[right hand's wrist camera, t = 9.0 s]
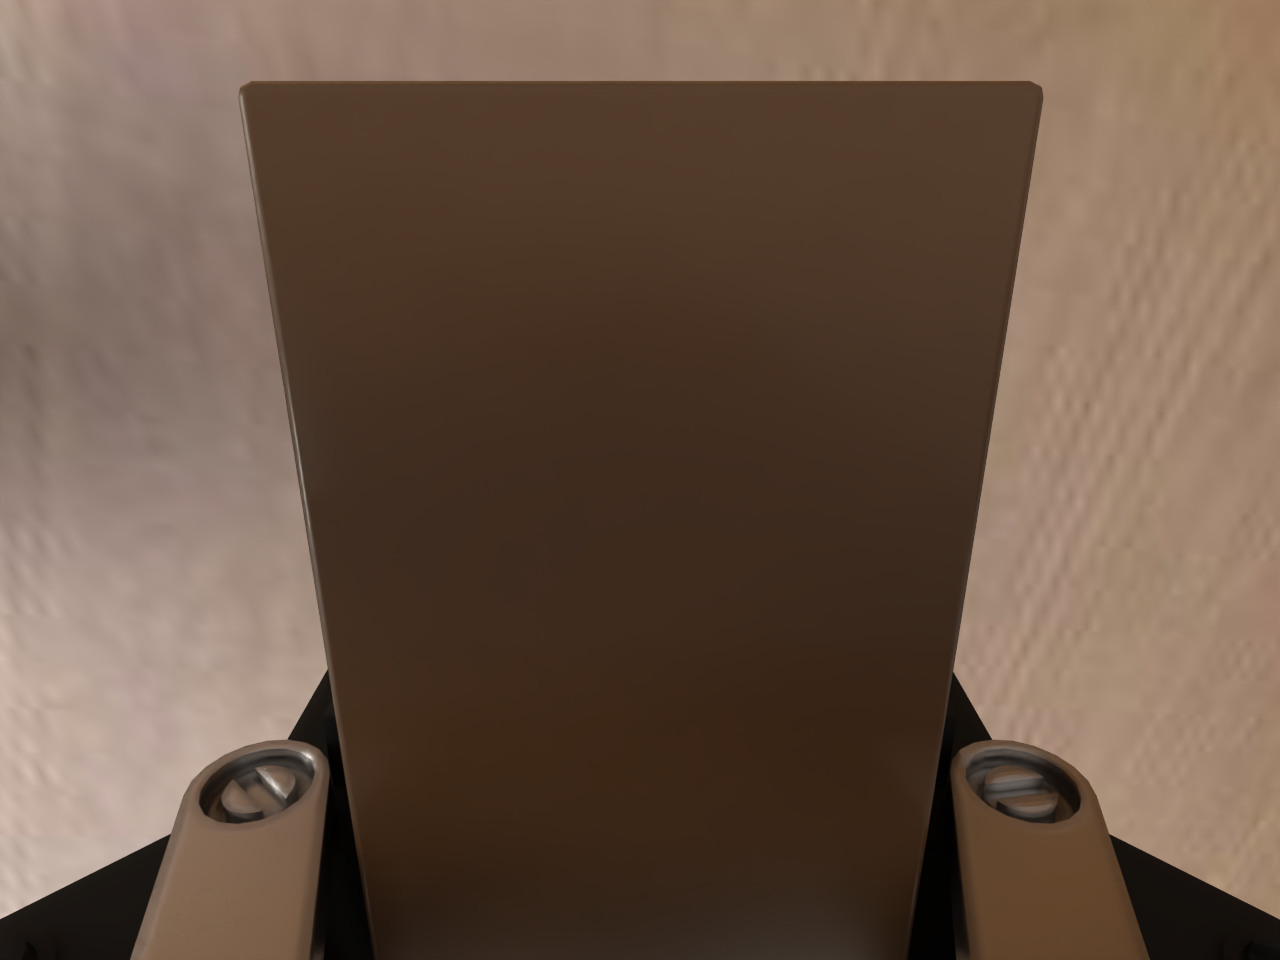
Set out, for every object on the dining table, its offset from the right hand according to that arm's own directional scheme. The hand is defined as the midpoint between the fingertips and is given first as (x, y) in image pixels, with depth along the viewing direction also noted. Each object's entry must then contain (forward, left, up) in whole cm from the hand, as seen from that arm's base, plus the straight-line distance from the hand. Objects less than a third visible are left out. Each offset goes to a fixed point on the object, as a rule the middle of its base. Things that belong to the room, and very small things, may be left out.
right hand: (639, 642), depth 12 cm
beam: (+19, -8, -3) cm, 21 cm away
